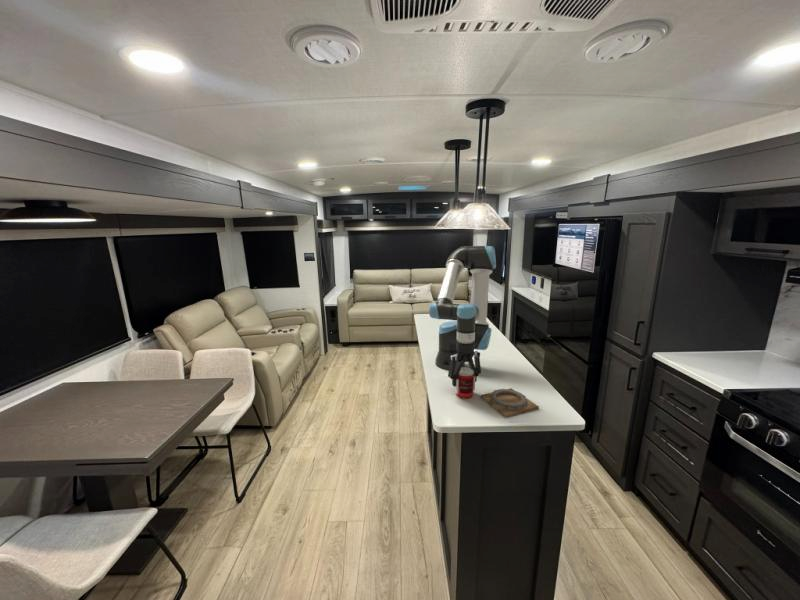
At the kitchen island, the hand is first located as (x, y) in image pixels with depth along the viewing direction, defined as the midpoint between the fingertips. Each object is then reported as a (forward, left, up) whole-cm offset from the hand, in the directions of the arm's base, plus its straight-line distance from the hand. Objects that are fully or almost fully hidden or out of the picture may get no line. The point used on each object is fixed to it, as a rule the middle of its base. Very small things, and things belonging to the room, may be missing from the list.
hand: (464, 390), depth 131 cm
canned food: (0, 0, -2) cm, 2 cm away
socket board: (+13, +13, -2) cm, 18 cm away
